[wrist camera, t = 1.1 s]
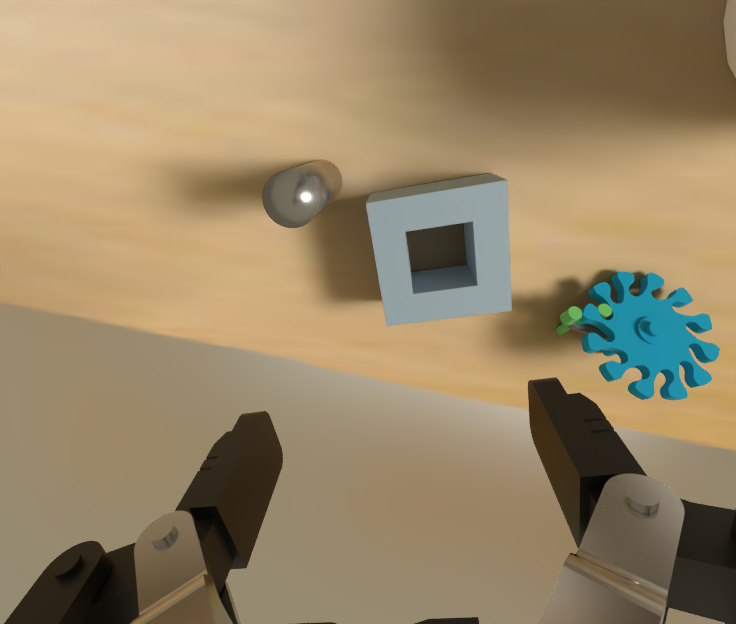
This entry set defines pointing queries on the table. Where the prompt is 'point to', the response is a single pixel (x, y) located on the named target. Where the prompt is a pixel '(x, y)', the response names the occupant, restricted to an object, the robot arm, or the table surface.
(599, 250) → the table surface
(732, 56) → the canister
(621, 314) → the teal lobed toy
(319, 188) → the pin
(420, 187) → the socket block
